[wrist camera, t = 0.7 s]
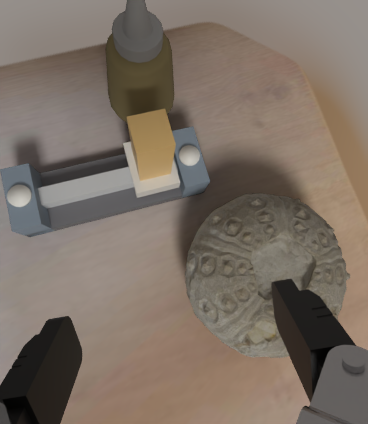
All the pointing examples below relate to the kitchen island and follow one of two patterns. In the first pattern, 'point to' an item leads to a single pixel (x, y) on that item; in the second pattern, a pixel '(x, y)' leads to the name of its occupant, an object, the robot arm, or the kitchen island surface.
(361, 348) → the robot arm
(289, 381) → the kitchen island surface
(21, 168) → the rail bed
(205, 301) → the decorative shell
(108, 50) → the squeeze bottle
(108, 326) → the kitchen island surface
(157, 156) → the carriage
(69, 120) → the kitchen island surface
